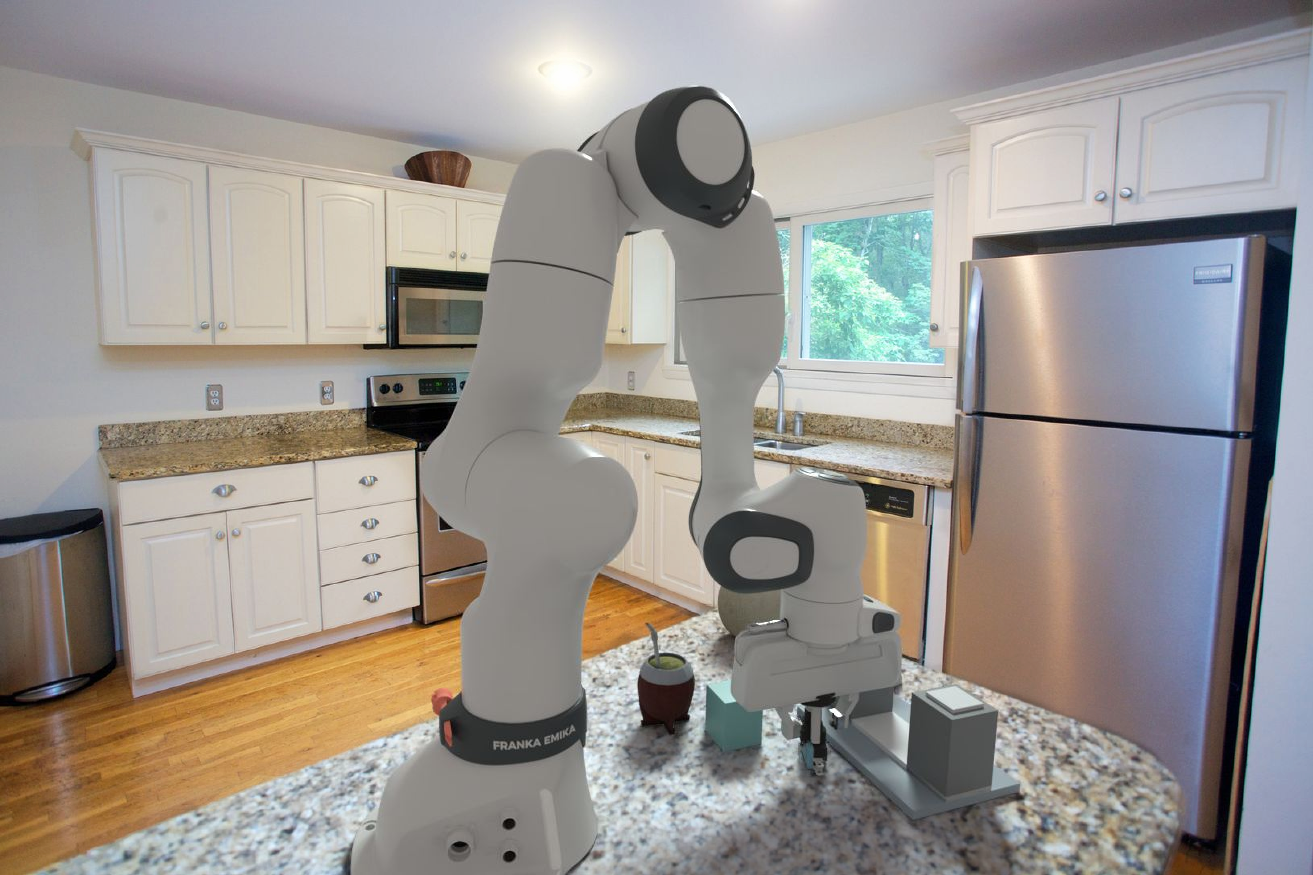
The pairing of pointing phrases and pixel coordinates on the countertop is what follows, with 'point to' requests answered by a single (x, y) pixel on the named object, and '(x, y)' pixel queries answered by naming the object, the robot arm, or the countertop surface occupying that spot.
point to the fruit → (747, 609)
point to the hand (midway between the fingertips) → (814, 731)
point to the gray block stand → (924, 748)
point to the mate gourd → (665, 688)
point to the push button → (814, 733)
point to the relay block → (730, 719)
